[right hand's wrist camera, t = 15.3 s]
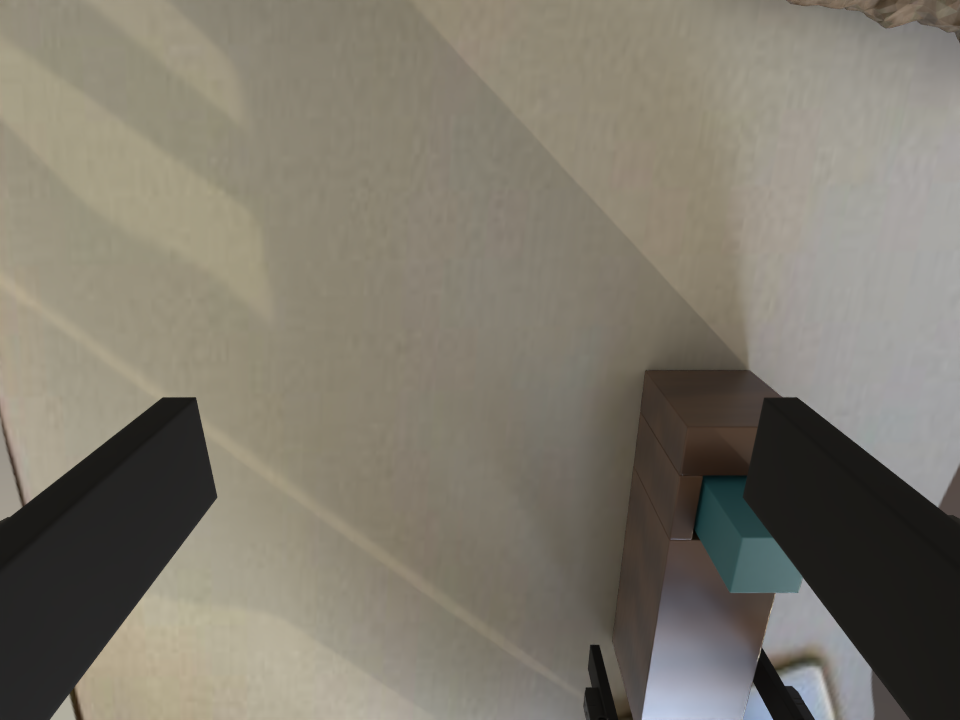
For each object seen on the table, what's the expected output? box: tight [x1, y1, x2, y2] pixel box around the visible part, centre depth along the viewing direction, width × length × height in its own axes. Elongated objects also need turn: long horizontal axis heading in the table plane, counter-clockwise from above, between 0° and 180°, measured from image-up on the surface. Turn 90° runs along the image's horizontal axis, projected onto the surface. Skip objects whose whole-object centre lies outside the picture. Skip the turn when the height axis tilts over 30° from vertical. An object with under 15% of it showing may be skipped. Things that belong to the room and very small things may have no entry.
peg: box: [694, 475, 803, 593], centre depth 37 cm, size 4×4×14 cm
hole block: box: [612, 370, 782, 720], centre depth 42 cm, size 28×8×9 cm, turn 0°
